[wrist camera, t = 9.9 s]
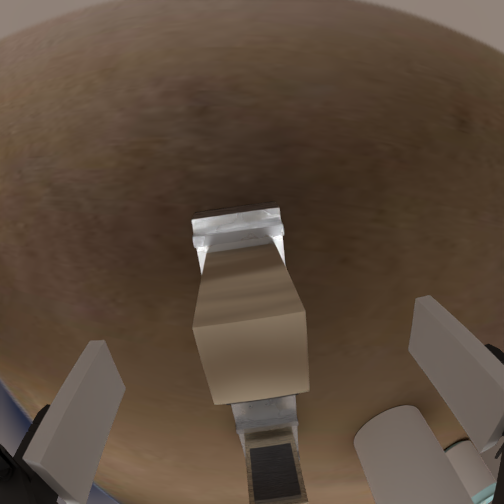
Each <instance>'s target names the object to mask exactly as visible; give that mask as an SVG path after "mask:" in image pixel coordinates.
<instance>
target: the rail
mask: <svg viewBox="0 0 504 504" xmlns="http://www.w3.org/2000/svg"><path fill="white" fill-rule="evenodd" d="M192 226H193V232H194V234H193V237H192V238H193V244H194V248H197V253H198V259H199V264H200V269H201V274H202V272H203V267H204V262H205V257H206V253H211V252H218V251H224V250H231V249H237V248H244V247H251V246H258V245H264V244H271V243H275V245H276V247H277V249H278V251H279V253H280V256H281V258H282V260H283V262H284V264H285V257H284V246H283V236H282V235H284V227H283V223H282V222H281V217H280V207H279V206H278V205H277V204H276V203H275V201H274V202H267V203H259V204H251V205H244V206H237V207H230V208H223V209H216V210H209V211H203V212H196V213H195V214H194V216H193V218H192ZM231 406H232V410H233V414H234V418H235V422H236V431H237V434H239V437H240V440H241V444H242V448H243V451H244V455H245V458H246V467H247V479H248V491H249V503H250V504H308V498H307V494H306V489H305V485H304V480H303V476H302V471H301V467H300V462H299V460H300V456H299V452H298V434H297V426H298V419H297V414H296V398H295V395H293V396H287V397H281V398H275V399H269V400H262V401H255V402H248V403H240V404H231Z"/></svg>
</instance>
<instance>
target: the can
mask: <svg viewBox="0 0 504 504" xmlns="http://www.w3.org/2000/svg"><path fill="white" fill-rule="evenodd" d="M444 452H445V454H446V455H447V457H448V459H449V460H450V462H451V464H452V466H453V467H454V469H455V471H456V473H457V474H458V476H459V478H460V480H461V481H462V483H463V485H464V487H465V488H466V490H467V492H468V494H469V496H470V497H471V499H472V501H473V503H474V504H488V503H489V502H490V501H492V500H493V497H494V492H495V488H496V483H497V481H496V480H495V478H494V477H493V475H492V474H491V472H490V470H489V469H488V467H487V466H486V464H485V462H484V461H483V459H482V458H481V456H480V455H479V453H478V452H477V450H476V449H475V447H474V446H473V444H472V443H471V441H460V442H458V443H456V444H454V445H452V446H450V447H449V448H448V449H446V450H445V451H444Z"/></svg>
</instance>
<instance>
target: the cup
mask: <svg viewBox="0 0 504 504" xmlns="http://www.w3.org/2000/svg"><path fill="white" fill-rule="evenodd" d="M354 447H355V449H356V452H357V455H358V457H359V460H360V462H361V465H362V468H363V470H364V473H365V476H366V478H367V481H368V484H369V486H370V489H371V492H372V494H373V497H374V500H375V503H376V504H474V503H473V501H472V499H471V497H470V496H469V494H468V492H467V490H466V488H465V487H464V485H463V483H462V481H461V480H460V478H459V476H458V474H457V473H456V471H455V469H454V467H453V466H452V464H451V462H450V460H449V459H448V457H447V455H446V454H445V452H444V450H443V449H442V447H441V445H440V444H439V442H438V440H437V439H436V437H435V435H434V434H433V432H432V430H431V429H430V427H429V426H428V424H427V422H426V421H425V419H424V417H423V416H422V414H421V413H420V411H419V410H418V408H416V407H415V406H411V405H403V406H398V407H394V408H391V409H389V410H386V411H384V412H382V413H380V414H379V415H377V416H375V417H374V418H372V419H371V420H369V421H368V422H367V423H366V424H365V425H364V426H363V427H362V428H361V429H360V430H359V431H358V432H357V434H356V436H355V438H354Z"/></svg>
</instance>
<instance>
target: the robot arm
mask: <svg viewBox="0 0 504 504" xmlns="http://www.w3.org/2000/svg"><path fill="white" fill-rule="evenodd" d="M408 351H409V352H410V353H411V355H412V356H413V357H414V359H415V360H416V362H417V363H418V364H419V366H420V367H421V368H422V370H423V371H424V372H425V374H426V375H427V377H428V378H429V379H430V381H431V382H432V384H433V385H434V386H435V388H436V389H437V391H438V392H439V393H440V395H441V396H442V398H443V399H444V401H445V402H446V403H447V405H448V406H449V408H450V409H451V411H452V412H453V414H454V415H455V417H456V418H457V420H458V421H459V423H460V424H461V425H462V427H463V428H464V430H465V432H466V433H467V435H468V436H469V438H470V439H471V441H472V442H473V444H474V445H475V447H476V448H477V450H478V452H479V453H482V452H484V451H486V450H488V449H489V448H491V447H493V446H494V445H496V443H497V442H498V440H499V439H500V437H501V435H502V434H503V436H504V353H503V352H502V351H501V350H500V349H498V348H496V347H494V346H492V345H490V344H487V345H483V344H482V343H481V342H480V341H479V340H478V339H477V338H476V337H475V336H474V335H473V334H472V333H471V332H470V331H469V330H468V329H467V328H466V327H464V326H463V325H462V324H461V323H460V322H459V321H458V320H457V319H456V318H455V317H454V316H453V315H452V314H450V313H449V312H448V311H447V310H446V309H445V308H444V307H443V306H442V305H440V304H439V303H438V302H437V301H436V300H435V299H434V298H433V297H431V296H430V295H428V296H424V297H419V298H415V307H414V315H413V322H412V329H411V336H410V342H409V348H408ZM125 389H126V388H125V386H124V384H123V382H122V379H121V377H120V375H119V373H118V370H117V368H116V366H115V364H114V361H113V359H112V357H111V354H110V352H109V349H108V347H107V344H106V342H105V340H99V341H90V342H89V343H88V345H87V346H86V348H85V349H84V351H83V353H82V354H81V356H80V357H79V359H78V361H77V362H76V364H75V365H74V367H73V369H72V370H71V372H70V374H69V375H68V377H67V378H66V380H65V382H64V383H63V385H62V387H61V388H60V390H59V392H58V394H57V395H56V397H55V399H54V400H53V402H52V404H51V405H48V404H47V405H46V406H45V407H43V408H42V409H41V410H40V411H39V412H38V413H37V415H36V417H35V419H34V420H33V424H31V426H30V427H29V429H28V432H27V433H26V435H25V436H24V438H23V440H22V442H21V444H20V446H19V448H18V449H17V451H16V453H15V455H14V457H12V456H11V455H10V454H9V453H8V452H7V450H6V449H5V448H4V447H3V446H2V445H1V444H0V504H58V503H57V502H56V501H57V498H58V496H60V497H61V498H62V499H63V500H64V501H65V502H66V503H67V504H86V502H87V498H88V496H89V492H90V489H91V486H92V483H93V479H94V476H95V473H96V470H97V467H98V464H99V461H100V458H101V455H102V452H103V449H104V446H105V443H106V441H107V438H108V435H109V432H110V429H111V427H112V424H113V421H114V418H115V416H116V413H117V410H118V407H119V405H120V402H121V399H122V397H123V394H124V392H125ZM501 452H502V456H501V462H500V468H499V473H498V478H497V483H496V488H495V492H494V497H493V501H492V504H504V443H503V445H502V446H501V448H500V449H499V451H498V452H497V454H496V456H495V458H496V459H497V458H498V457H499V455H500V454H501Z"/></svg>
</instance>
